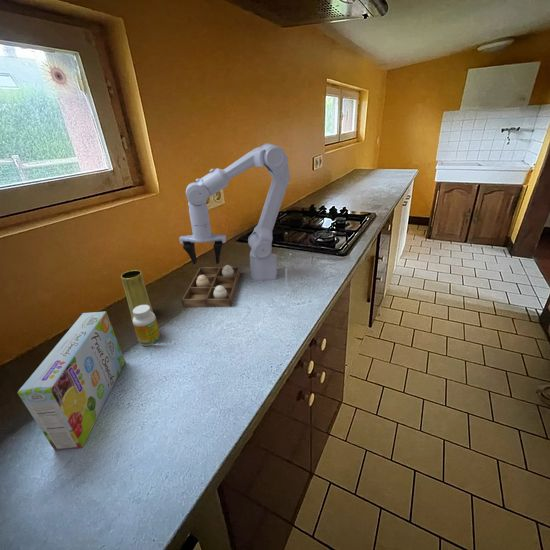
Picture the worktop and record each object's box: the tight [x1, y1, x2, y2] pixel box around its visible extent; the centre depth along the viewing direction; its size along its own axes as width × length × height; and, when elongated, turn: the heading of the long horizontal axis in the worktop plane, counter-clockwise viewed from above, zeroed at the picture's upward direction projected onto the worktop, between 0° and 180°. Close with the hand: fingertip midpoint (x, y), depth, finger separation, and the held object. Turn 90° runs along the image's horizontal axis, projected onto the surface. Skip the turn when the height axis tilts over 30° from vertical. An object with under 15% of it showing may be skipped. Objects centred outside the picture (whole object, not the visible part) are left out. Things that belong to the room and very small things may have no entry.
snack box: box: [17, 310, 126, 451], centre depth 59 cm, size 21×6×15 cm, turn 5°
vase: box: [120, 269, 154, 322], centre depth 85 cm, size 6×6×14 cm
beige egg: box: [196, 275, 209, 287], centre depth 99 cm, size 4×4×5 cm
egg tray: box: [181, 266, 242, 308], centre depth 100 cm, size 15×22×3 cm
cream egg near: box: [213, 285, 227, 299], centre depth 93 cm, size 4×4×5 cm
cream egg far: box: [222, 264, 234, 276], centre depth 105 cm, size 4×4×5 cm
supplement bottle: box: [132, 305, 161, 347], centre depth 77 cm, size 5×5×10 cm
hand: (206, 262), depth 100 cm, fingers open, 7 cm apart
